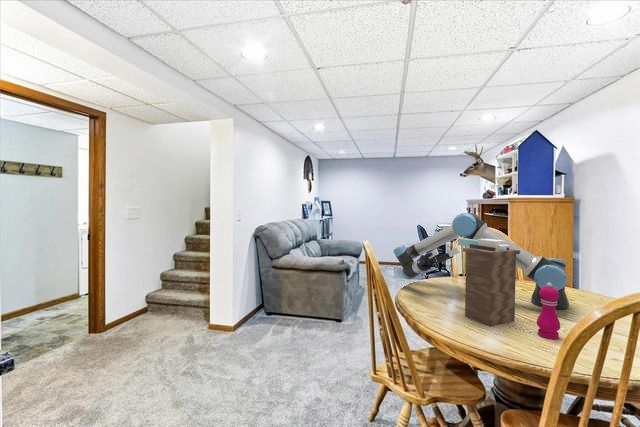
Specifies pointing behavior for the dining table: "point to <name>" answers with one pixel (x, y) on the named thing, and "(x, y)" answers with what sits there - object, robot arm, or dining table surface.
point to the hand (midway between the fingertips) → (447, 250)
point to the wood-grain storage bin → (490, 284)
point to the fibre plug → (485, 243)
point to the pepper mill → (548, 313)
